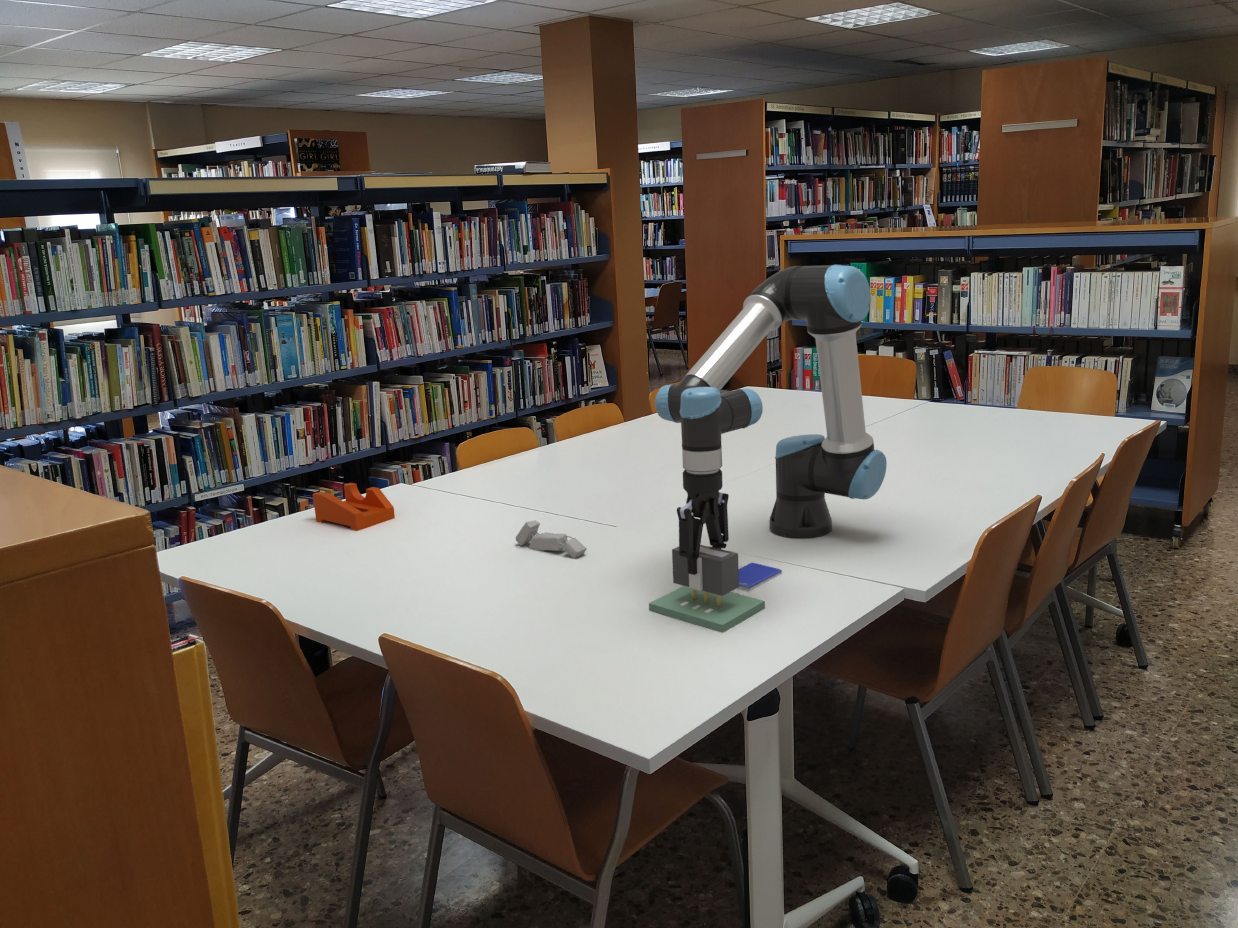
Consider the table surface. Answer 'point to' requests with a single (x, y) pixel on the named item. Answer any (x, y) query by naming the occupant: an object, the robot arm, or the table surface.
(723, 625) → the header board
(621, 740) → the table surface
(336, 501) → the orange cradle stand
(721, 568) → the socket block
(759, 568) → the hard drive
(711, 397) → the robot arm
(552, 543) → the grey jointed block chain
